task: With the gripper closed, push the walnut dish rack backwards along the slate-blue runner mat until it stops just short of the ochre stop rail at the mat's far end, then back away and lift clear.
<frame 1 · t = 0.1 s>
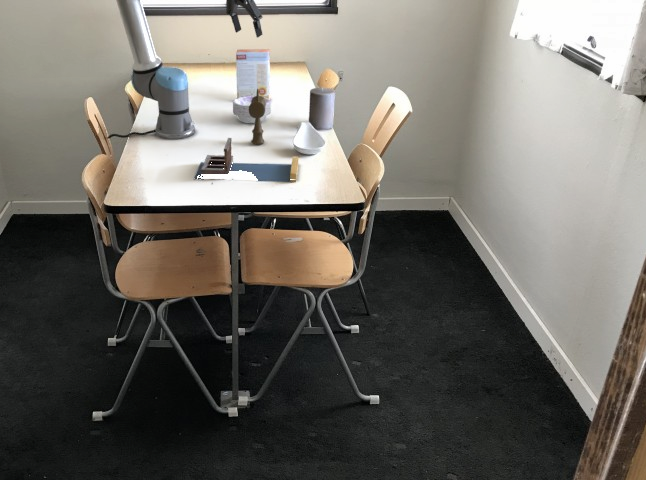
hand: (249, 33, 294), 28 cm above the table, tool tilted 20°, fingers open, 13 cm apart
rack: (217, 171, 240), resting on runner mat
kendama: (257, 144, 264), on the table
paper bowls: (251, 120, 287), on the table
cracker box: (253, 101, 311), on the table
runner mat: (246, 172, 240), on the table
pillar candle: (320, 126, 280), on the table
spoon rest: (306, 147, 260), on the table
stop rail: (294, 173, 238), resting on runner mat
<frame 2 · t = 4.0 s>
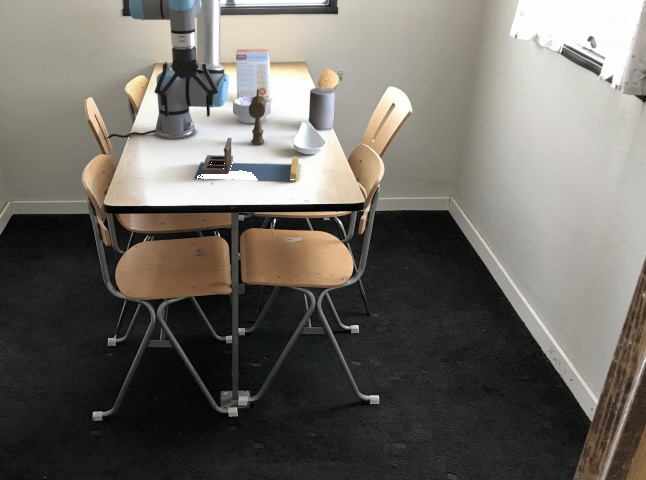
hand: (187, 115, 231), 19 cm above the table, tool pointing down, fingers open, 13 cm apart
nothing on the table moved.
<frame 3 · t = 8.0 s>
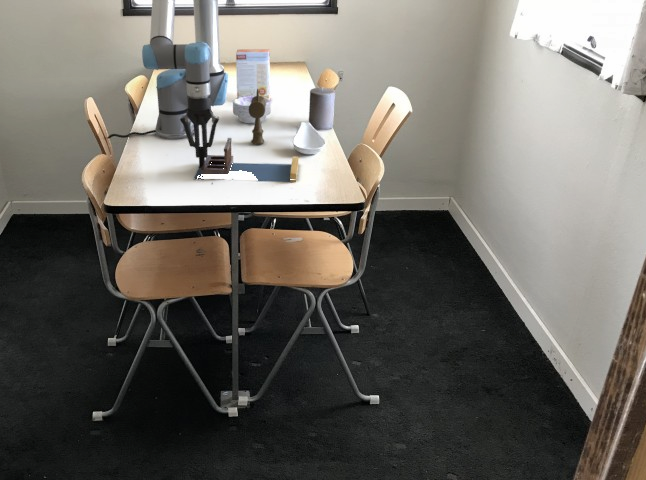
hand: (202, 166, 240), 2 cm above the table, tool pointing down, fingers closed
rack: (217, 171, 240), resting on runner mat, touching gripper
everything else where it was.
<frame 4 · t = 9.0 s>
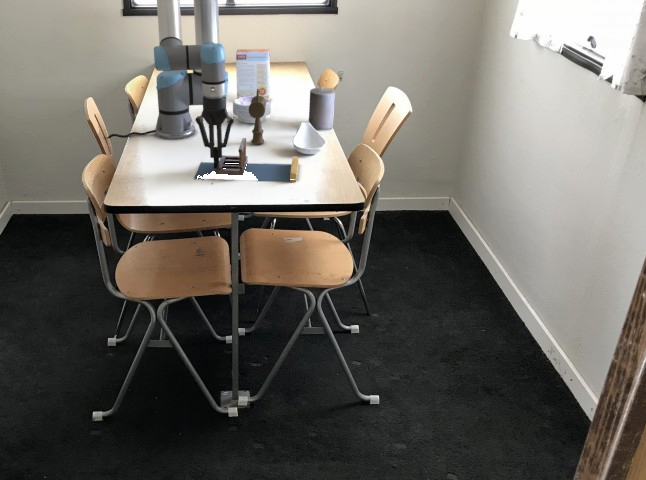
hand: (216, 166, 240), 2 cm above the table, tool pointing down, fingers closed
rack: (232, 171, 240), resting on runner mat, touching gripper
everything else where it was.
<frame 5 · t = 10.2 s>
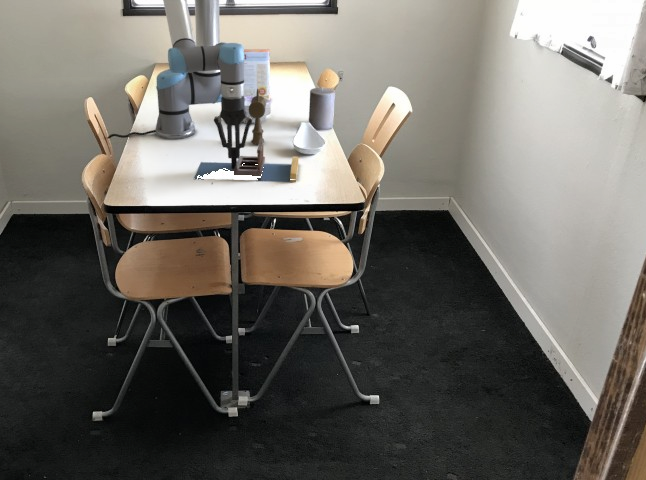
hand: (234, 167, 239), 2 cm above the table, tool pointing down, fingers closed
rack: (249, 172, 239), resting on runner mat, touching gripper
everything else where it was.
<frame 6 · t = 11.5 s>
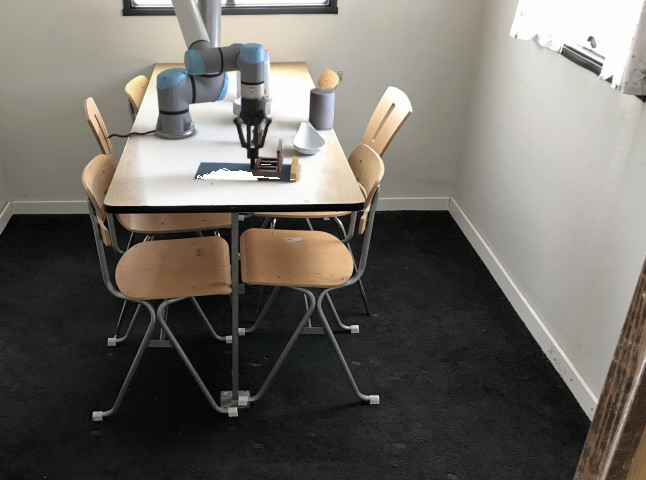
hand: (252, 167, 238), 2 cm above the table, tool pointing down, fingers closed
rack: (268, 172, 239), resting on runner mat, touching gripper
everything else where it was.
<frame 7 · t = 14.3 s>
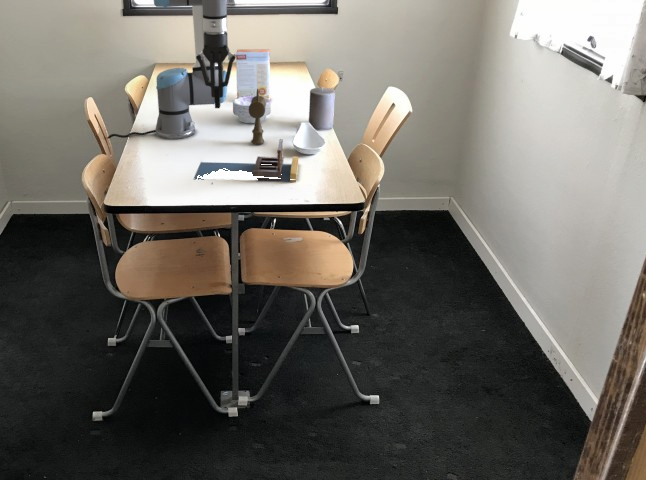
hand: (217, 106, 236), 20 cm above the table, tool pointing down, fingers closed
rack: (268, 172, 239), resting on runner mat
everything else where it was.
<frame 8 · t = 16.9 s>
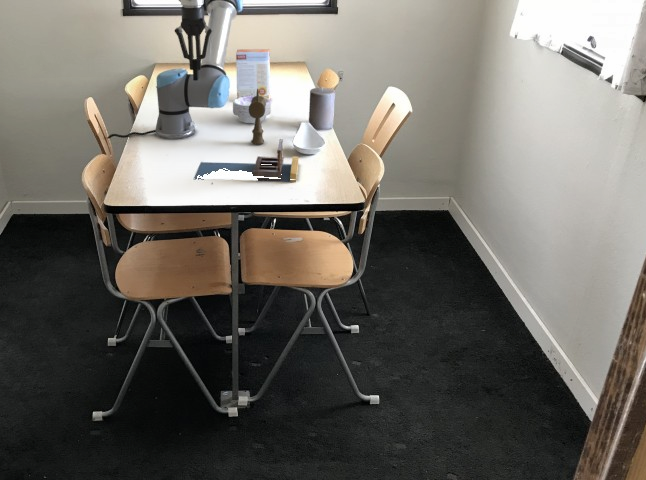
hand: (196, 79, 247), 24 cm above the table, tool pointing down, fingers closed
nothing on the table moved.
at the end: rack inside the target area (0.9 cm from its centre), resting on runner mat; rack tilted 0°; rack moved 17.4 cm from its start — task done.
